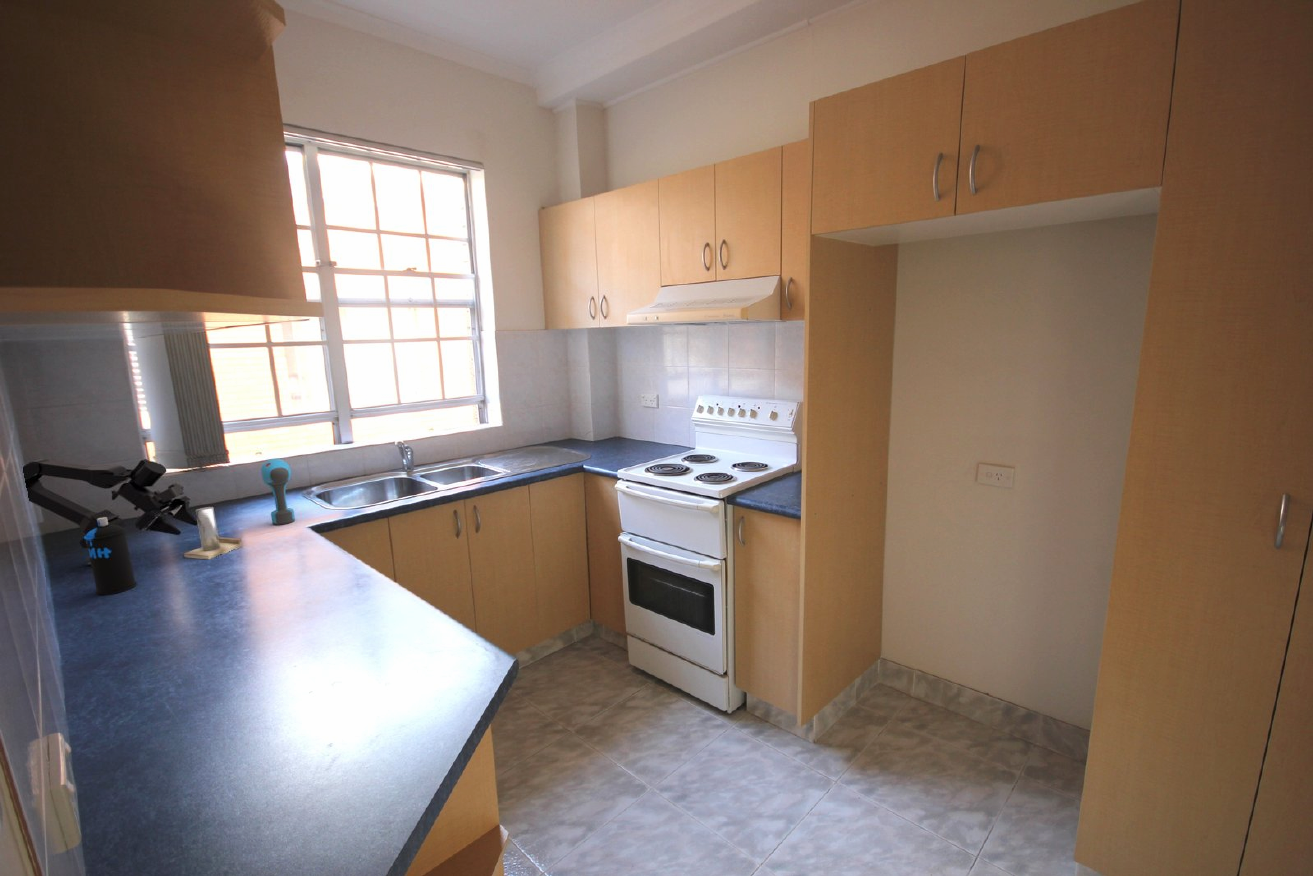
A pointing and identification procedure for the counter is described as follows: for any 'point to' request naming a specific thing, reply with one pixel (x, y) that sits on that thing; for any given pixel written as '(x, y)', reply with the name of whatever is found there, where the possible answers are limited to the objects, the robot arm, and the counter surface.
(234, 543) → the wooden tray
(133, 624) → the counter surface
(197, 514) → the rod
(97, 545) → the aerosol can
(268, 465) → the power drill
